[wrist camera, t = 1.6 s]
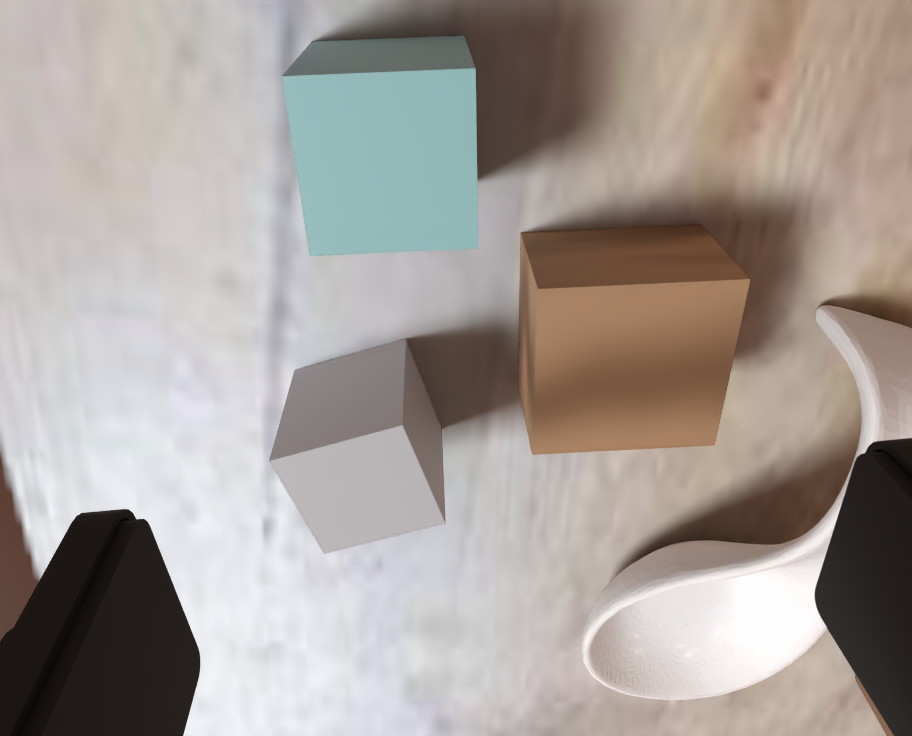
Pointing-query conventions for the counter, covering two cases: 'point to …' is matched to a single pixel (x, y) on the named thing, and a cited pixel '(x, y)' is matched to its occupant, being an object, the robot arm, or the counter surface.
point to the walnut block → (626, 337)
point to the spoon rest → (742, 565)
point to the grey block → (361, 448)
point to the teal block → (385, 144)
